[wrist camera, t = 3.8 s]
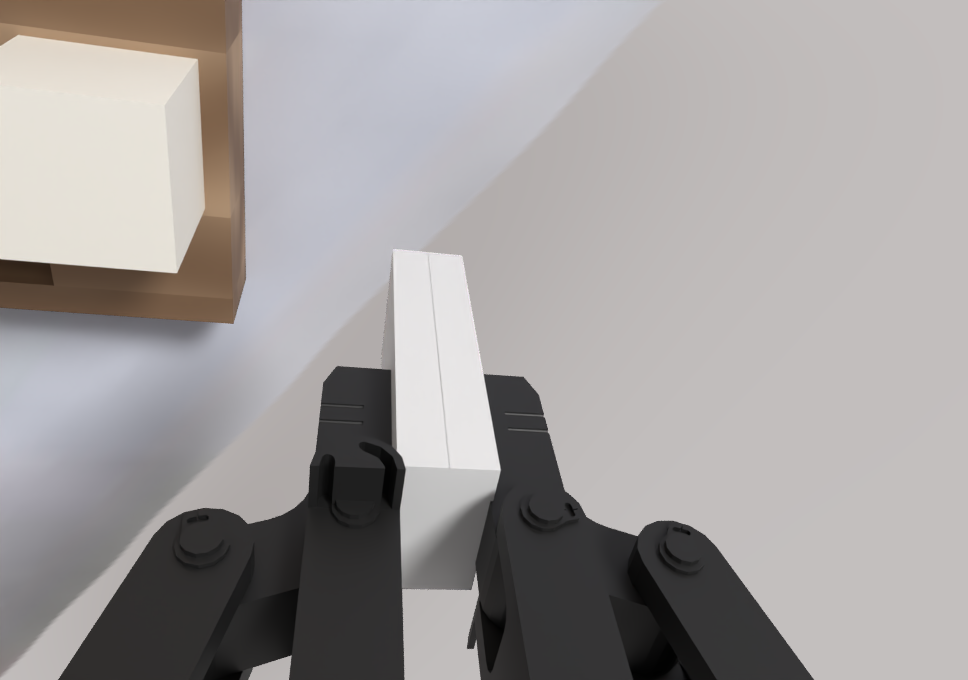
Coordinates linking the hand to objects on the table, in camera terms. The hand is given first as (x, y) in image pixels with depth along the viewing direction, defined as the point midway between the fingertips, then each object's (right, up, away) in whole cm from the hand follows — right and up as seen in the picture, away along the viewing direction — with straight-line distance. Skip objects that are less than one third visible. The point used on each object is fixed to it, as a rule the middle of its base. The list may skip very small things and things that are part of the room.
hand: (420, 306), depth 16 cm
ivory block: (-9, +5, +5) cm, 11 cm away
